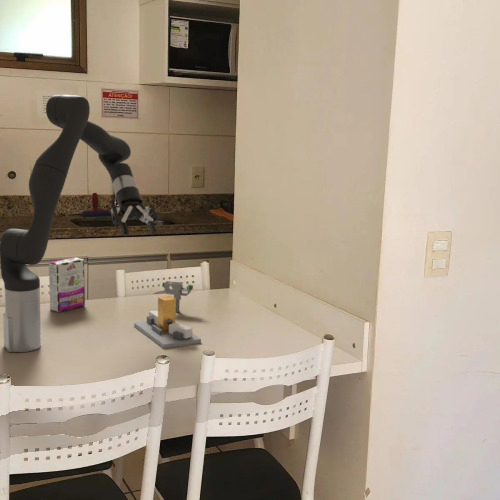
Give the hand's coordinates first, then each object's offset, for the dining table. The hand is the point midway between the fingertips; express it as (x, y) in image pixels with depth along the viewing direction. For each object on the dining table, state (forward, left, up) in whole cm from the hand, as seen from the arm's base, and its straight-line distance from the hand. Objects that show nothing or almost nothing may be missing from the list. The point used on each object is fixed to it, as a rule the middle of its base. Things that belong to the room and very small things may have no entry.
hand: (140, 233), depth 210 cm
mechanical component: (+16, +5, -29) cm, 33 cm away
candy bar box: (-16, +23, -29) cm, 40 cm away
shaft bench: (+3, -15, -29) cm, 32 cm away
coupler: (+3, -14, -27) cm, 31 cm away
